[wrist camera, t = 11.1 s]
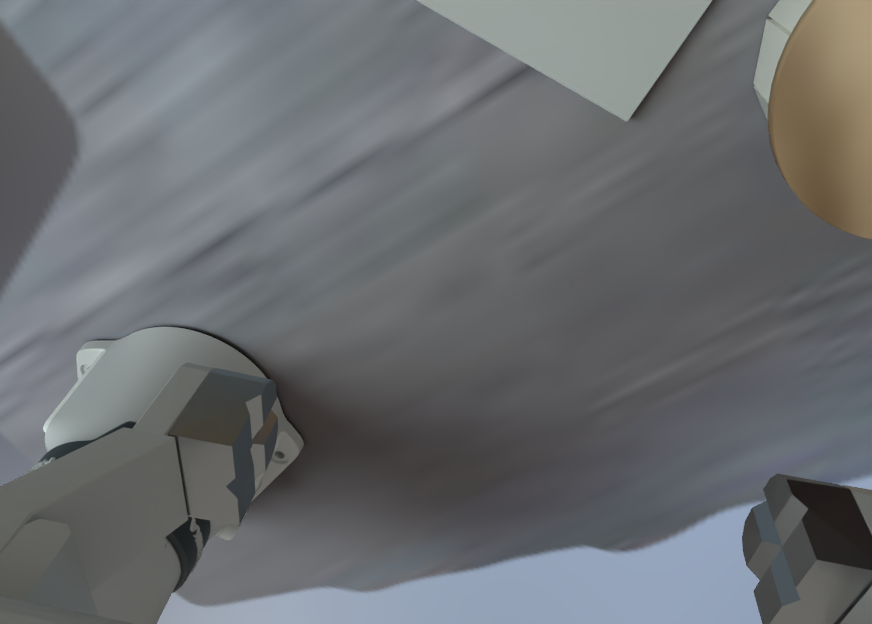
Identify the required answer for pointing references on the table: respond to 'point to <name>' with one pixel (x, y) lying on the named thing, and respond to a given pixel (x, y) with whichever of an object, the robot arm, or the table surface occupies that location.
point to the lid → (827, 113)
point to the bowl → (775, 44)
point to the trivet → (585, 40)
